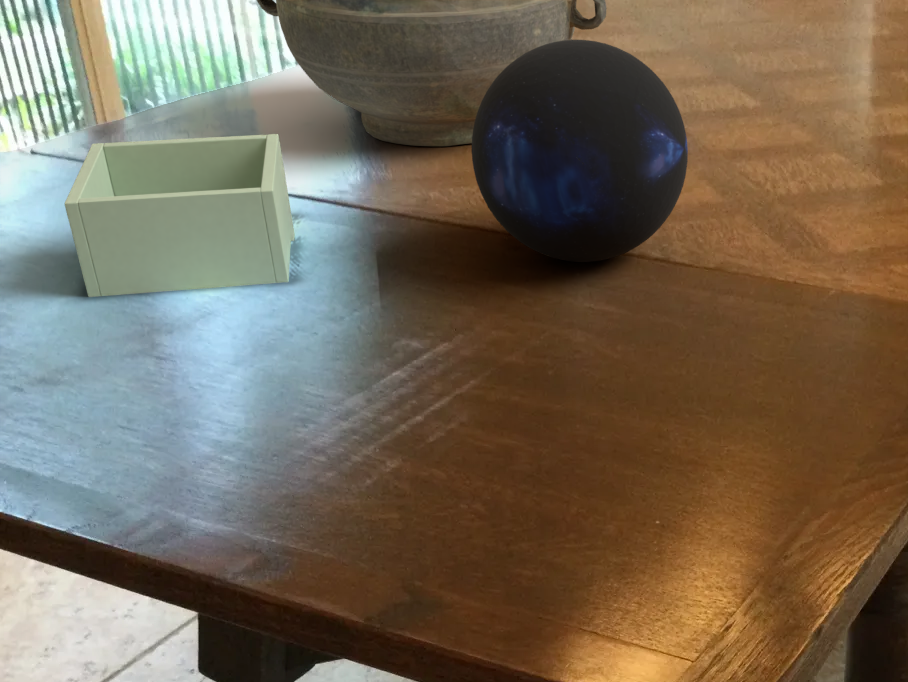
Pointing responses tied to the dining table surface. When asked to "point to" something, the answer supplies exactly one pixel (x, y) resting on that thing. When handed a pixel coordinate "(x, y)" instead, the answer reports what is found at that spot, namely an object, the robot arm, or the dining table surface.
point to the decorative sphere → (579, 150)
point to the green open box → (181, 215)
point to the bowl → (419, 56)
